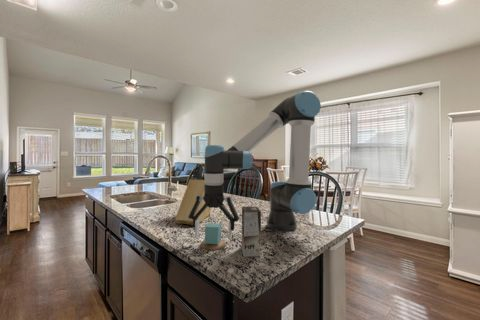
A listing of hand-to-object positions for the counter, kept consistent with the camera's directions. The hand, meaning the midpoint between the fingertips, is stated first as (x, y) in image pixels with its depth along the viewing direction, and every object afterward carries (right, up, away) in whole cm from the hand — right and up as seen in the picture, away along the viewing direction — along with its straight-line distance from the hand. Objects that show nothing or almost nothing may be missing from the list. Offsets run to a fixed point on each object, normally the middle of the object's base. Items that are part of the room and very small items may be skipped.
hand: (213, 237), depth 92 cm
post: (0, -3, 0) cm, 3 cm away
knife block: (-14, -3, +41) cm, 44 cm away
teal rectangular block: (0, -2, 0) cm, 2 cm away
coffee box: (+15, -4, -6) cm, 16 cm away
